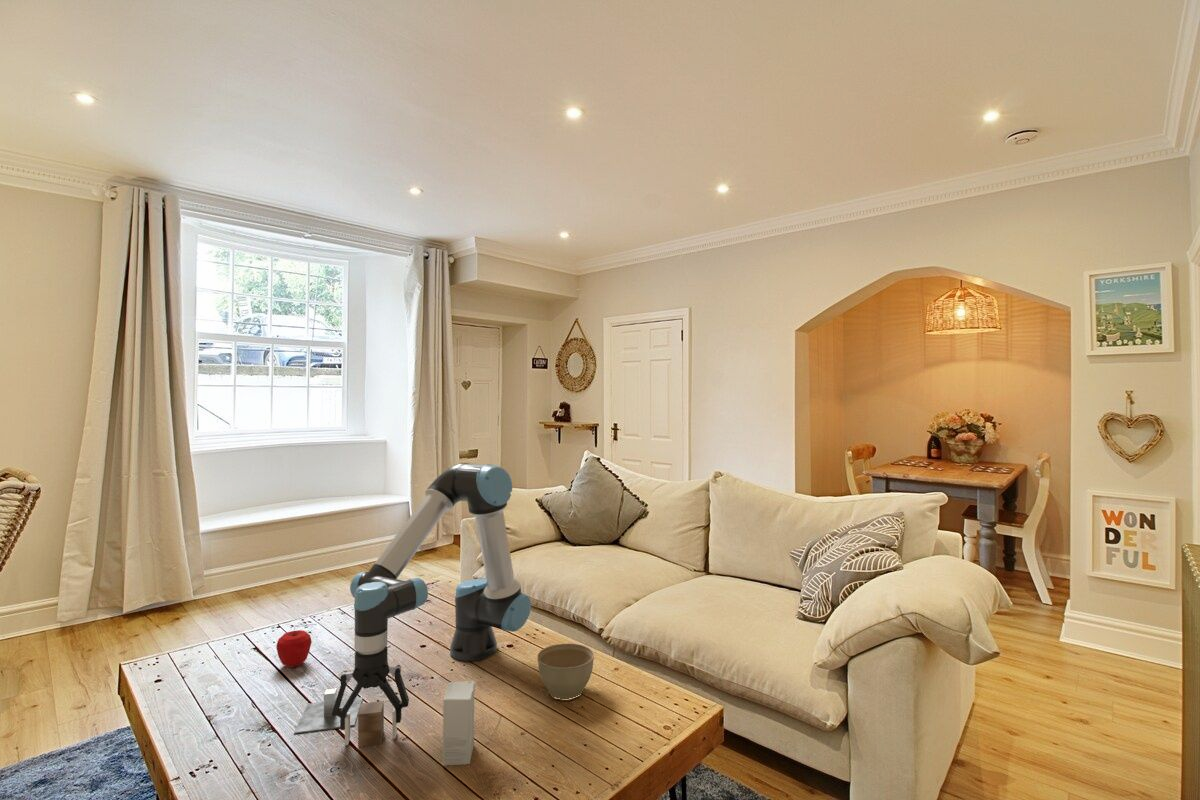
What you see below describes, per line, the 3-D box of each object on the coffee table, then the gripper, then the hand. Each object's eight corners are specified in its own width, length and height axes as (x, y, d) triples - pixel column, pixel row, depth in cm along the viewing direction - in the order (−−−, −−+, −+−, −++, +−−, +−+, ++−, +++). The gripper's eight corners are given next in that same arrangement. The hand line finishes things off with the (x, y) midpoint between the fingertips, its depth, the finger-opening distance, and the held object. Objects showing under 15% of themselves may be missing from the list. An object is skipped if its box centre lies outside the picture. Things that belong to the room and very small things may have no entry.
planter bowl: (603, 685, 168) (603, 648, 168) (578, 713, 153) (578, 672, 153) (555, 674, 175) (555, 638, 175) (526, 700, 160) (526, 660, 160)
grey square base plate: (362, 698, 161) (362, 675, 161) (354, 726, 147) (354, 701, 147) (308, 705, 157) (307, 681, 157) (294, 734, 144) (294, 708, 144)
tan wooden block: (383, 731, 145) (383, 700, 145) (381, 743, 140) (381, 711, 140) (361, 734, 144) (361, 703, 144) (358, 747, 139) (358, 714, 138)
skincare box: (448, 745, 139) (448, 680, 139) (476, 743, 140) (475, 679, 140) (441, 767, 131) (441, 699, 131) (471, 765, 132) (471, 697, 131)
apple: (269, 669, 178) (269, 634, 178) (296, 656, 187) (295, 622, 187) (292, 674, 174) (292, 639, 174) (318, 661, 183) (318, 627, 183)
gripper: (420, 637, 148) (420, 723, 148) (324, 646, 142) (324, 736, 142) (418, 649, 141) (418, 740, 141) (317, 660, 135) (317, 754, 135)
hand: (371, 738), depth 142 cm, fingers open, 10 cm apart
